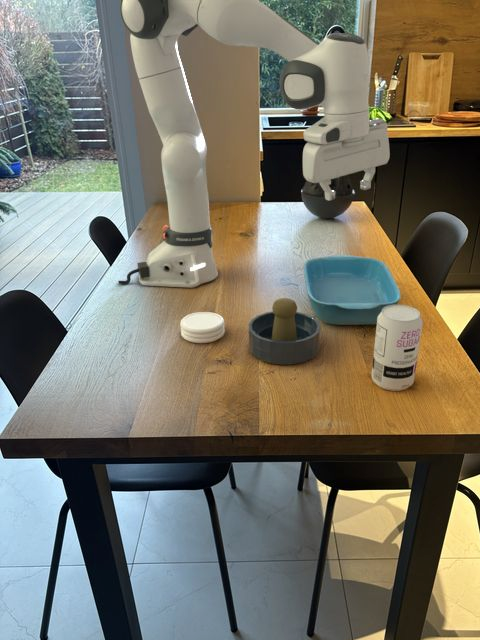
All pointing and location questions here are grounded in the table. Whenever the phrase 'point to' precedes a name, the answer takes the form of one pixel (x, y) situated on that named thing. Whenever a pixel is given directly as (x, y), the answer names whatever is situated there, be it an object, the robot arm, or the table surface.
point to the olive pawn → (284, 320)
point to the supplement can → (396, 347)
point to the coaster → (202, 327)
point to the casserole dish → (349, 289)
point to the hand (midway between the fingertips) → (348, 194)
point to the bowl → (284, 350)
